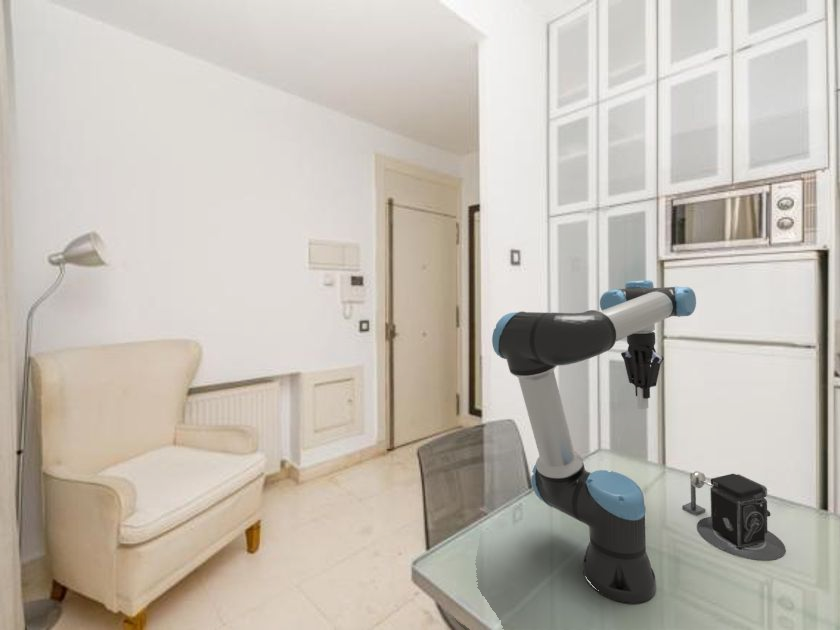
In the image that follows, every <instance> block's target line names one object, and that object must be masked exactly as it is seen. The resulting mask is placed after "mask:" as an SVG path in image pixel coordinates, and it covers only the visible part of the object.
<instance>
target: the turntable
mask: <svg viewBox="0 0 840 630" xmlns="http://www.w3.org/2000/svg"><path fill="white" fill-rule="evenodd" d="M696 530H697V532H698V534H699V535H700V537H702V539H703V540H705V541H706V542H707V543H709V544H710V545H711V546H714V547H715V548H717V549H719V550H720V551H723V552H726V553H728V554H730V555H732V556H733V555H734V556H736V557H739V558H744V559H747V560H748V559H749V560H754V561H763V562H764V561H774V560H778V558H779V559H781V558H782V557H784V556H785V554H786V546H785V544H784V542H783V541H782V540H781V539H780V538H779V537H778V536H777V535H775V534H774V533H772V532H771V531H769V530H768V529H767V533H766V534H765V542H763V543H759V544H754V545H750V546H745V547H739V546H738V545H737V544H736V543H734V542H733V541H731V540H730V539H728V538H726V537H725V536H723V535H722V534H720V533H717V532H716V531H715V530H714V529H712V527H711V516H706V517H703V518H701V519H699V520H698V521H697V523H696Z"/></svg>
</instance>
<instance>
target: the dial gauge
mask: <svg viewBox="0 0 840 630" xmlns="http://www.w3.org/2000/svg"><path fill="white" fill-rule="evenodd" d="M689 476H690V477H689V478H690V502H688V503H685V504H683V505H682V507H681V508H682V510H684V511H686V512H688V513H690V514H692V515H694V516H698V515H701V514H704V513H706V508H705V507H702V506H700V505H698V504H697V496H696V495H697V493H696V492H697V490H696V488H697V489H701V488H703V487H704V485H705V484H706V485H708V486H710V487H713V486H714V485H712V484H711V482H710V483H709V482H708V481H706V476H705V474H704V473H703V472H701V471H698V470H696V471H694V472H693V473H692V472H691V473H690V475H689Z"/></svg>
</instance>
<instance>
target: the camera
mask: <svg viewBox="0 0 840 630" xmlns="http://www.w3.org/2000/svg"><path fill="white" fill-rule="evenodd" d="M710 484H712V485H714V486H713V487H712V486H710V488H709V489H710V490H709V491H710V492H709V493H710V517H711V527H712V529H714V530H715V531H716V532H717V533H720V534H722V535H723V536H725V537H726V538H728V539H730V540H731V541H733V542H734V543H736V544H737V545H738V546H739V547H745V546H750V545H754V544H759V543H763V542H765V534H766V533H767V530H768V517H769V518H770V516H771V512H770V511H769V510H768V500H767V499H766V497H768V488H767V487H766V486H765V485H763V484H761V483H759V482H757V481H755V480H752V479H750V478H748V477H746V476H743V475H741V474H736V473H730V474H729V473H728V474H727V475H726V474H725V475H721V476H717V477H712V478H710Z"/></svg>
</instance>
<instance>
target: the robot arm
mask: <svg viewBox="0 0 840 630" xmlns="http://www.w3.org/2000/svg"><path fill="white" fill-rule="evenodd" d="M696 307H697V297H696V292H695V291H694V290H693V288H691V287H689V286H677V285H676V286H667V287H665V286H663V287H654V282H653V281H652V280H649V279H646V280H632V281H627V282H625V285H624V288H615V289H610V290H607V291H606V292H603V293H602V294H601V296H600V299H599V308H600V310H595V309H591V310H586V311H584V312H539V311H538V312H533V311H532V312H530V311H529V312H527V311H518V312H509V313H507V314H505V315H503V316H502V317H501V318H500V319H499V320H498V321H497V323H496V325H495V328H494V329H493V331H492V337H491V338H492V339H491V343H492V348H493V351H494V352H495V354H496V356H499V357H500V358H501V359H504V360H506V363H507V366H508V369H509V372H510V374H511V375H513V376H514V377H516V378H518V381H519V385H520V386H519V387H520V390H521V393H522V397H523V401H524V405H525V408H526V411H527V414H528V415H527V416H528V419H529V423H530V426H531V429H532V434H533V438H534V441H535V445H536V449H537V451H538V455H539V456H538V457H537V459H536V462H535V464H534V466H533V467H532V471H531V472H532V473H533V474H532V475H531V487H532V489H533V492H534V494H535V495H536V497H538V499H539V500H540V501H542V502H543V503H545V504H546V505H548V506H549V507H551V508H554V509H556V510H557V511H559V512H561V513H563V514H565V515H566V516H569V517H571V518H573V519H575V520H577V521H579V522H581V523H583V524H584V525H586V526H588V528H589V530H588V531H589V542H588V545H587V547H586V551H585V554H584V555H583V556H584V557H583V561H582V572H583V571H584V573H583V575H584V574H585V576H586V577H587V579H588V580H589V581H590V582H591V584H592V585H593V586H594V587H595V588H596V589H597V590H599V592H600V593H602V594H603V595H602V594H601V595H602V596H604V597H606V598H608V599H610V600H612V601H616V602H620V601H621V603H624V602H629V603H628V604H641V603H643V602H644V603H645V602H647V601H649V600H650V599H652V598H653V597H654V596H655V594H656V590H657V581H656V575H655V572H654V569H653V568H652V565H651V562H650V559H649V556H648V554H647V550H646V549H647V547H646V546H647V545H646V504H645V498H644V494H643V491H642V489H641V487H640V486H639V485H638V483H637V482H636V481H634V480H633V479H632V478H630V477H628V476H627V475H624V474H622V473H619V472H616V471H613V470H611V471H609V470H605V469H604V470H603V469H600V470H594V471H592V472H590V471H587V470H586V468H585V464H584V461H583V458H582V456H581V454H580V453H578V452H577V451H575V450H574V446H573V442H572V439H571V434H570V430H569V427H568V423H567V418H566V414H565V411H564V406H563V402H562V398H561V394H560V389H559V386H558V382H557V378H556V374H555V369H556V368H557V366H567V365H568V366H569V365H572V364H576V363H580V362H583V361H586V360H589V359H592V358H594V357H597V356H599V355H602V354H604V353H606V352H609V350H611V349H613V347H615V344H616V342H618V341H620V340H622V339H624V338H626V343H627V345H628V347H627V350H626V351H623V352H621V354H620V355H621V357H622V359H623V362H624V365H625V370H626V375H627V379H628V383H630V384H632V385H634V387H635V388H634V389H635V397H637V398H636V399H637V409H640V410H645V409H649V399H650V398H651V388H654V387H657V383H658V380H659V379H658V378H659V374H660V369H661V364H662V362H664V358H665V357H664V356H662V355H661V356H660V355H658V353H657V351H656V349H655V344H656V333H655V329H656V324H657V323H659V322H661V321H663V320H666V319H668V318H671V317H678V318H680V317H689V316H691V315H693V313H694V311H695V309H696ZM599 592H598V593H599ZM600 593H599V594H600Z"/></svg>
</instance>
